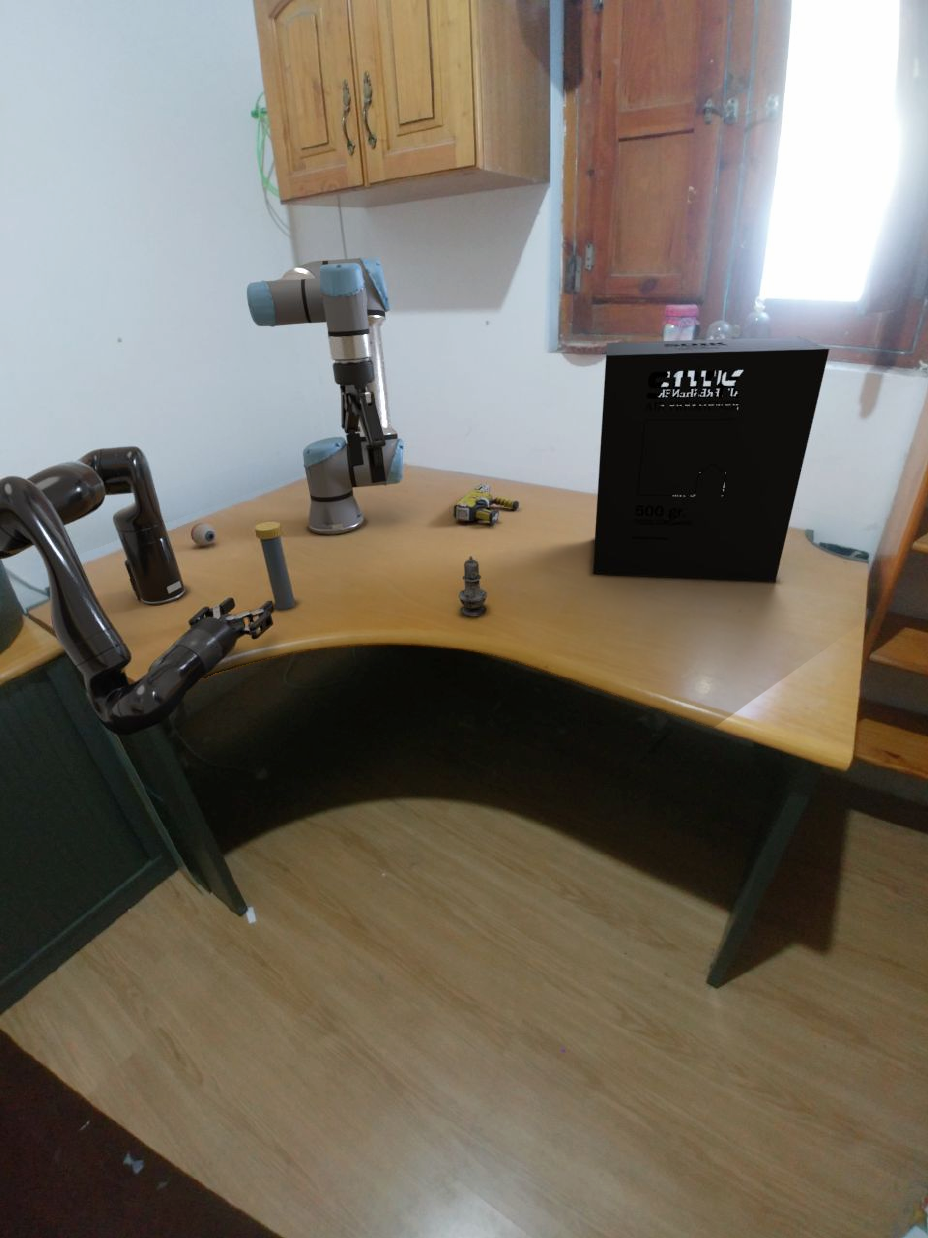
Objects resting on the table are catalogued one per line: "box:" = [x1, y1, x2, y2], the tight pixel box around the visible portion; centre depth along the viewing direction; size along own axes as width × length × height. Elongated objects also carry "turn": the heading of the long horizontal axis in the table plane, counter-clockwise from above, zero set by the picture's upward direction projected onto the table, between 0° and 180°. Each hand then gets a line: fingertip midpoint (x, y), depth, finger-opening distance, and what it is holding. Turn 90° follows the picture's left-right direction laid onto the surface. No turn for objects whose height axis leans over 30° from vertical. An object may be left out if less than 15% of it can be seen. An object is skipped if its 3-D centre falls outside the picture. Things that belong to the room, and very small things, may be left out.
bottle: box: [259, 535, 296, 611], centre depth 125 cm, size 4×4×18 cm
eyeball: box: [190, 522, 217, 547], centre depth 160 cm, size 6×6×6 cm
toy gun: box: [452, 482, 520, 526], centre depth 172 cm, size 5×24×15 cm
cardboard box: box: [592, 336, 830, 583], centre depth 128 cm, size 38×20×45 cm, turn 78°
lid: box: [254, 521, 283, 540], centre depth 121 cm, size 5×5×2 cm
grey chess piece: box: [457, 555, 488, 617], centre depth 120 cm, size 6×6×12 cm
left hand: (251, 603), depth 117 cm, fingers open, 8 cm apart
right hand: (367, 473), depth 122 cm, fingers open, 13 cm apart
